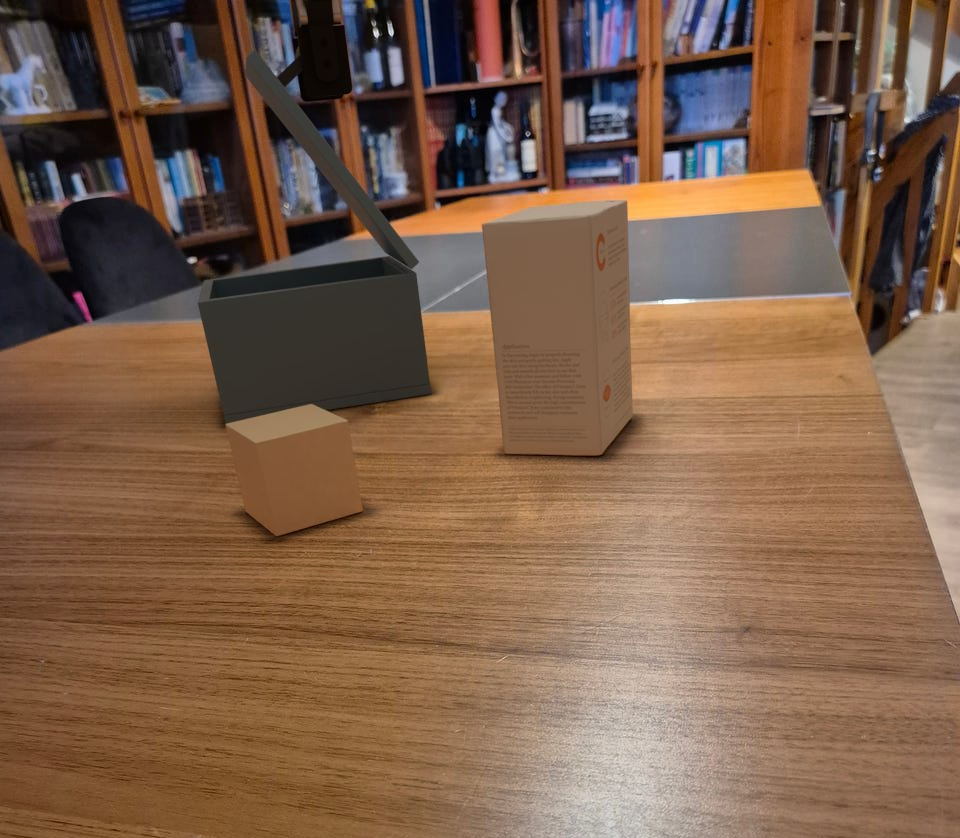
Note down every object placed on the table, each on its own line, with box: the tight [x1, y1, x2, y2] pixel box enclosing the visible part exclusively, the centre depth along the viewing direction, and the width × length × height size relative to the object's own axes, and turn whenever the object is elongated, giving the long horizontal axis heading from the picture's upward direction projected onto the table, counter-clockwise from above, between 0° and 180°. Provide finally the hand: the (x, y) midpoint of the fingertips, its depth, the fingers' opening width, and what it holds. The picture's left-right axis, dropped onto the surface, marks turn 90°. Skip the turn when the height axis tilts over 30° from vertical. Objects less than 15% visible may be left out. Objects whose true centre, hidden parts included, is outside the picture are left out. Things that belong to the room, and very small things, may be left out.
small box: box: [481, 199, 634, 457], centre depth 55 cm, size 8×6×13 cm
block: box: [225, 404, 364, 537], centre depth 50 cm, size 5×5×5 cm
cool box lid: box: [244, 46, 420, 270], centre depth 69 cm, size 16×14×5 cm
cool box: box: [197, 255, 432, 425], centre depth 74 cm, size 16×14×9 cm
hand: (326, 94), depth 67 cm, fingers closed on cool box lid, 5 cm apart
